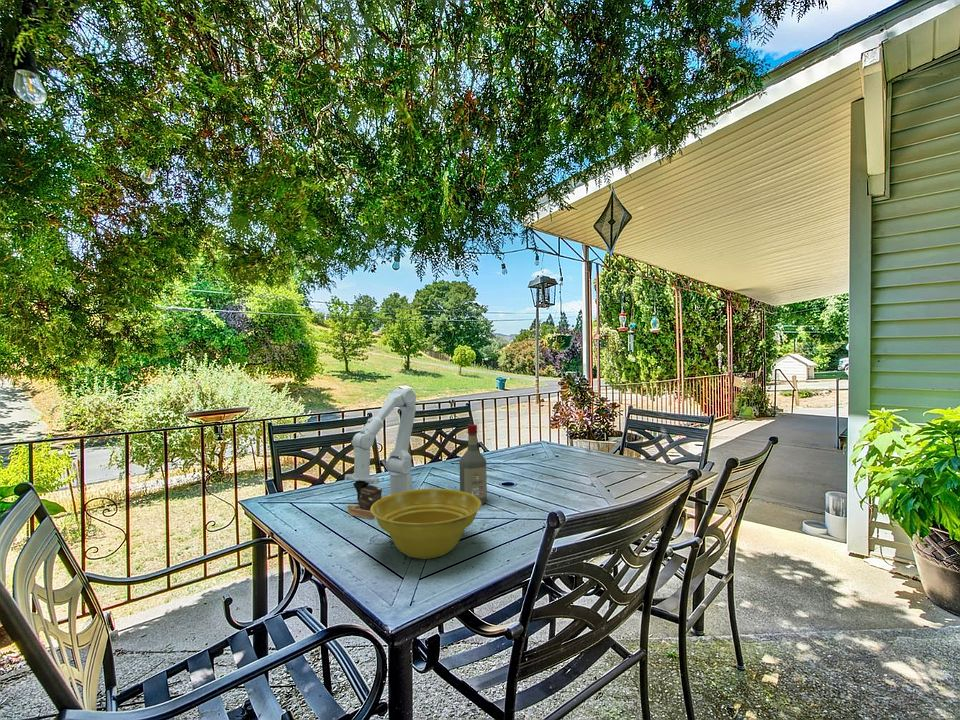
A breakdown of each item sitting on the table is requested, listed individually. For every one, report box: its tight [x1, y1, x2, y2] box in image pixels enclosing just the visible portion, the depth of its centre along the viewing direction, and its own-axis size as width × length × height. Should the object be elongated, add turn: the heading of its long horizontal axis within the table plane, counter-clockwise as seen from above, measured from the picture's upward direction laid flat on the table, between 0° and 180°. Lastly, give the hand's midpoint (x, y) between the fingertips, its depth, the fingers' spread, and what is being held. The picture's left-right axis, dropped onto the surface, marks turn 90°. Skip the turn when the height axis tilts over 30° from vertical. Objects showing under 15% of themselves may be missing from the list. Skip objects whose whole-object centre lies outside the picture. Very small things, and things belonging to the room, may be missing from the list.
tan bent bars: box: [346, 495, 386, 520], centre depth 161 cm, size 19×29×3 cm, turn 67°
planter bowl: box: [370, 488, 483, 560], centre depth 128 cm, size 32×32×13 cm
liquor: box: [459, 424, 488, 505], centre depth 169 cm, size 9×9×30 cm
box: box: [357, 484, 383, 511], centre depth 164 cm, size 6×6×7 cm
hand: (361, 500), depth 165 cm, fingers closed, pressing on box
